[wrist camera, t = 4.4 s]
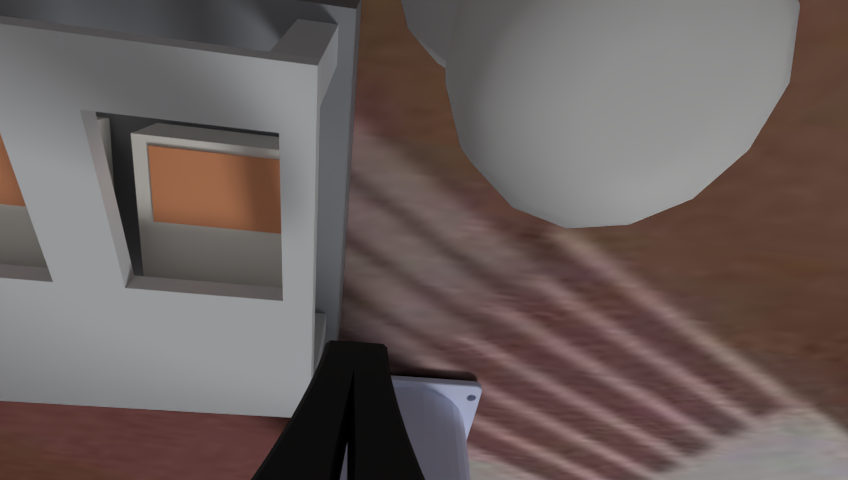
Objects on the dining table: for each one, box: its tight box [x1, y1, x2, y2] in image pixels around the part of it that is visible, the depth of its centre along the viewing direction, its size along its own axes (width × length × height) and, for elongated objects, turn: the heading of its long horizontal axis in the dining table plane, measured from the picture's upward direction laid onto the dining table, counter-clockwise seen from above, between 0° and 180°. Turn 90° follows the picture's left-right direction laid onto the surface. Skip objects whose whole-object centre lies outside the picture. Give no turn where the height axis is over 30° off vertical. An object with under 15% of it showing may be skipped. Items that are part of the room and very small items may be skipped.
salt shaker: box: [401, 0, 800, 228], centre depth 11 cm, size 6×6×13 cm
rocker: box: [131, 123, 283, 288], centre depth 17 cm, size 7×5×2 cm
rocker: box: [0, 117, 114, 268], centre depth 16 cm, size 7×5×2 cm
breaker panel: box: [0, 0, 362, 418], centre depth 17 cm, size 15×14×7 cm
